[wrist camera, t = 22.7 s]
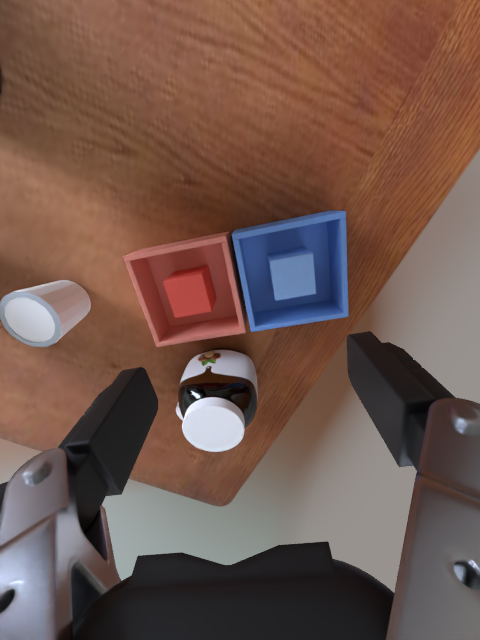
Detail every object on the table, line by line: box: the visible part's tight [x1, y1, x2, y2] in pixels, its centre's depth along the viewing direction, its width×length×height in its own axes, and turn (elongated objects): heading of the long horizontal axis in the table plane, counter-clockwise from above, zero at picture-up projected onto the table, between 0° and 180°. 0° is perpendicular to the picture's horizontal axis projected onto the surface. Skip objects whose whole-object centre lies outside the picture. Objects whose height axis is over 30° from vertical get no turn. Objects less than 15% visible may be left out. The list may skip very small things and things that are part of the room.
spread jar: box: [176, 348, 258, 452], centre depth 34 cm, size 12×11×12 cm
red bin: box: [123, 231, 246, 347], centre depth 31 cm, size 11×11×5 cm
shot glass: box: [0, 280, 91, 347], centre depth 31 cm, size 7×7×7 cm
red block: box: [163, 265, 216, 318], centre depth 30 cm, size 4×4×4 cm
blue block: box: [267, 247, 316, 301], centre depth 29 cm, size 4×4×4 cm
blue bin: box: [232, 211, 348, 332], centre depth 29 cm, size 11×11×5 cm
